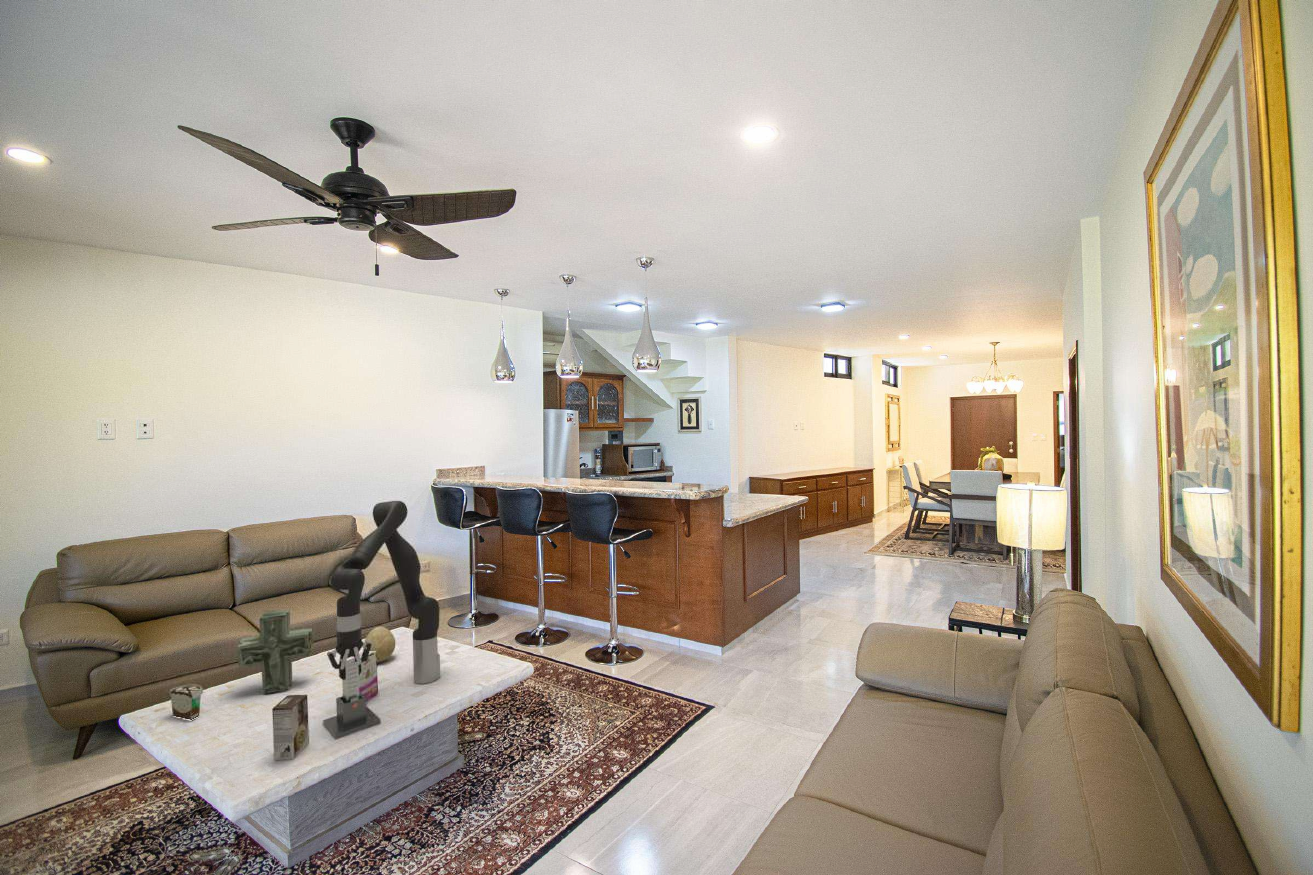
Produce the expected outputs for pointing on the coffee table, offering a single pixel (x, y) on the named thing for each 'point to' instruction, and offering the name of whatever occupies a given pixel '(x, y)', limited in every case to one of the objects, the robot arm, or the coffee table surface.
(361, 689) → the candy bar box
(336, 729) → the jack stand base
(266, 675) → the religious sculpture
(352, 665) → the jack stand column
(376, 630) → the fossilized egg
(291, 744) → the coffee box
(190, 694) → the food container
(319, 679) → the coffee table surface
